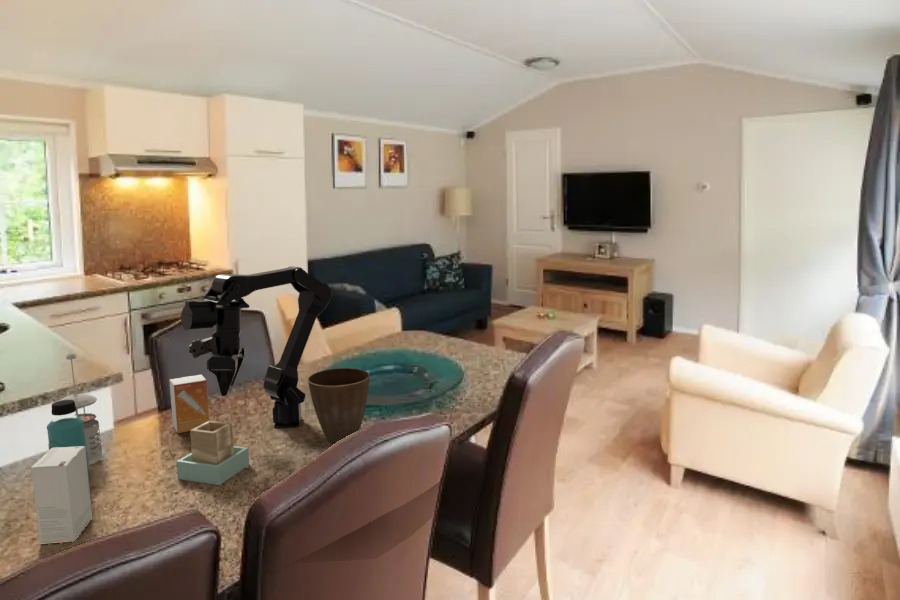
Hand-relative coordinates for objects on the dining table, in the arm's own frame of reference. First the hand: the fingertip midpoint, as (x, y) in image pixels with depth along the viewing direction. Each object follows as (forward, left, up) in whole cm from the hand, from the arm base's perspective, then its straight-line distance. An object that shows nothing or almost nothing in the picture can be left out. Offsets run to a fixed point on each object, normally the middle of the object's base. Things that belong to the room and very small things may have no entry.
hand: (227, 390), depth 148 cm
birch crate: (-1, +17, -12) cm, 21 cm away
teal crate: (-1, +17, -13) cm, 21 cm away
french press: (+32, +6, -13) cm, 35 cm away
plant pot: (-27, +1, -13) cm, 30 cm away
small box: (+13, -11, -13) cm, 22 cm away
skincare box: (+18, +40, -13) cm, 46 cm away
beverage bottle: (+24, +26, -13) cm, 38 cm away
